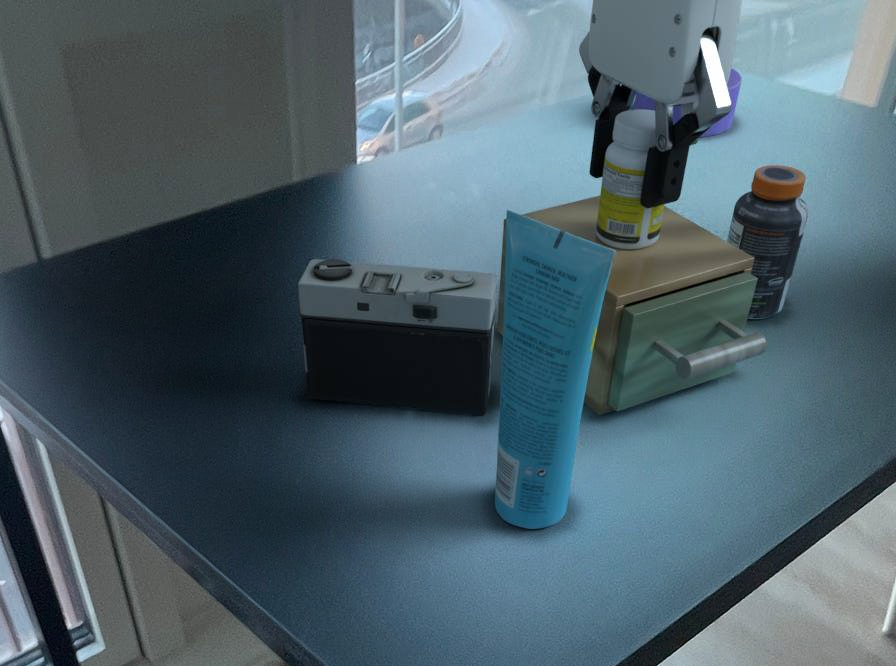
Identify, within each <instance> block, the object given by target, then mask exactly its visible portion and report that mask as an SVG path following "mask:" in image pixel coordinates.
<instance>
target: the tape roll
mask: <svg viewBox="0 0 896 666" xmlns="http://www.w3.org/2000/svg"><path fill="white" fill-rule="evenodd" d="M742 79H743V77H742V76H741V74H740V73H739V72H738V71H737V70H735V69H734V68H733V67H731V72H730V76H729V80H728V83H727V89H728V93H729V97H730V100H731V111H730V113H729V114H728V115H727V116H725V117H724V118H722V119H721V120H719V121H718V122H716V123H715V124H714V125H711V127H710V128H709V129H708V130H707V131H706V132H705V133H703V134H702V135H701V136H700V137H699V138H704V137H711V136H715V135H716V136H717V135H720V134H723V133H725V132H726V131H728V130H730V128H731V127H732V125H733V122H734V117H735V112H736V107H737V104H738V98H739V95H740V90H741V85H742V81H743V80H742ZM682 94H683V92H682ZM699 103H700V95H699ZM637 109H645V110H653V111H655V100H654V99H652V98H650V97H648V96H645V95H643V94H641V93H639V92H636V95H635V98H634V101H633V109H632V110H637ZM679 119H681V106H677V107H673V125H674V124H675V123H676V122H677V121H678V120H679Z"/></svg>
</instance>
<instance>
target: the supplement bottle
mask: <svg viewBox="0 0 896 666" xmlns="http://www.w3.org/2000/svg"><path fill="white" fill-rule="evenodd" d="M613 140H614V142H613V143H611V144H610V145H609V147H608V148H607V150H606V154H605V161H604V169H603V177H601V188H600V195H599V196H600V202H599V210H598V218H597V227H596V234H597V237H598V238H599V239H600V240H601V241H602V242H604V243H605V244H607V245H609V246H612V247H615V248H620V249H640V248H644V247H648V246H650V245H652V244H654V243H655V242H656V241H657V240H658V238H659V234H660V228H661V223H662V217H663V211H664V206H666V204H663V205H660V206H656V207H652V208H645V207H643V206H642V205H641V203H640V197H641V191H642V185H643V178H644V172H645V166H646V160H647V153H648V151H649V148H651V147H655V146H656V125H655V111H653V110H645V109H637V110H633V109H630V110H628V111H624V112H621V113H620V114H618V115H617V116H616V118H615V124H614V129H613Z"/></svg>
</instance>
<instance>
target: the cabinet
mask: <svg viewBox="0 0 896 666" xmlns="http://www.w3.org/2000/svg"><path fill="white" fill-rule="evenodd" d="M599 202H600V195H596V196H592V197H588V198H584V199H580V200H576V201H571V202H566V203H564V204H559V205H555V206H551V207H547V208H543V209H539V210H536V211H531V212H527V213H522V214H521V215H523V216H526V217H529V218H531V219H534V220H537V221H539V222H542V223H544V224H546V225H549V226H551V227H554V228H557V229H559V230H561V231H563V232H567V233H569V234H572V235H574V236H577V237H580V238H583V239H585V240H588V241H591V242H593V243H596V244H599V245H602V246H604V247H607V248H610V249H613V250H615V251H616V253H615V256H614V258H613V262H612V267H611V271H610V275H609V279H608V283H607V286H606V290H605V295H604V299H603V303H602V308H601V313H600V317H599V322H598V327H597V332H596V337H595V342H594V347H593V352H592V358H591V363H590V368H589V374H588V379H587V385H586V391H585V396H584V402H583V405H586V407H588V408H589V409H590V410H591V411H593V412H594V413H595V414H596V415H598V416H601V415H605V414H609V413H610V412H614V411H616V410H615V409H614V408H612V407H611V406H610V405H609V404H608V401H609V394H610V388H611V382H612V376H613V369H614V363H615V357H616V351H617V344H618V338H619V332H620V326H621V319H622V313H623V308H624V305H626V304H629V303H633V302H636V301H639V300H643V299H646V298H650V297H653V296H656V295H660V294H663V293H667V292H670V291H674V290H677V289H680V288H684V287H687V286H691V285H694V284H697V283H701V282H704V281H708V280H711V279H714V278H718V277H721V276H725V278H727V277H731V276H734V275H738V274H741V273H744V272H748V273H750V274H751V270H752V266H753V262H754V257H753V256H751V255H749V254H748V253H746V252H744V251H742V250H741V249H739V248H737V247H735V246H734V245H732V244H730V243H728V242H727V240H725V239H723V238H722V237H720V236H718V235H716V234H715V233H713V232H711V231H709V230H708V229H706V228H704V227H702V226H700V225H699V224H697V223H695V222H694V221H692V220H690V219H688V218H687V217H685V216H683V215H681V214H680V213H679V212H676V211H675V210H673V209H671V208H669V207H668V206H666V205H664V211H663V217H662V223H661V228H660V234H659V238H658V240H657V241H656V242H655V243H654V244H652V245H650V246H648V247H644V248H640V249H620V248H615V247H612V246H609V245H607V244H605V243H604V242H602V241H601V240H600V239H599V238H598V237H597V234H596V227H597V218H598V210H599ZM501 246H502V247H501V258H500V259H501V260H500V262H501V263H500V273H499V274H500V275H499V291H498V307H497V321H496V332H497V333H498V334H499V335H500V336H502V337H503V324H504V296H505V255H506V218H504V219H503V229H502V245H501Z"/></svg>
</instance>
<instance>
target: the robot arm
mask: <svg viewBox="0 0 896 666" xmlns="http://www.w3.org/2000/svg"><path fill="white" fill-rule="evenodd" d="M742 2H743V0H592V5H591V6H592V7H591V13H590V22H589V23H590V24H589V31H588V32H587V34H586V35H585V36H584V38H583V40H582V41H581V42H580V44H579V47H578V51H579V56H580V58H581V61H582V64H583V66H584V68H585V71H586V74H587V82H588V86H589V89H590V92H591V94H592V98H593V99H592V101H591V105H590V109H591V114H592V116H593V118H595V123H594V131H593V138H592V139H593V140H592V147H591V156H590V163H589V170H588V171H589V172H588V173H589V175H590V176H591V177H592V178H594V179H600V178H602V177H603V169H604V161H605V154H606V150H607V148H608V147H609V145H610V144H611V143H613V142H614V140H613V129H614V124H615V118H616V116H617V115H618V114H620V113H621V112H624V111H628V110H631V109H632V106H633V104H634V102H635V96H636V92H639V93H641V94H643V95H645V96H648V97H650V98H652V99H654V100H655V125H656V146H655V147H651V148H649V151H648V153H647V160H646V166H645V172H644V178H643V185H642V191H641V197H640V203H641V205H642V206H643V207H645V208H652V207H656V206H660V205H663V204H665V205H667V204H671V203H675V202H677V201H679V199H680V197H681V195H682V189H683V183H684V178H685V173H686V167H687V162H688V156H689V152H690V146H695V145H696V144H697V143H698V142H699V139H700V138H701V137H700V136H701V135H702V134H703V133H705V132H706V131H707V130H708V129H709V128H710V127H711V125H714V124H715V123H716V122H718V121H719V120H721V119H722V118H724V117H725V116H727V115H728V114H729V113H730V111H731V100H730V97H729V93H728V89H727V83H728V80H729V76H730V72H731V68H733V67H732V66H733V61H734V56H735V51H736V43H737V38H738V32H739V26H740V25H739V24H740V18H741V10H742ZM682 92H683V94H682ZM699 95H700V103H699ZM677 106H681V119H679V120H678V121H677V122H676V123H675V124H674V125H673V107H677Z"/></svg>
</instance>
